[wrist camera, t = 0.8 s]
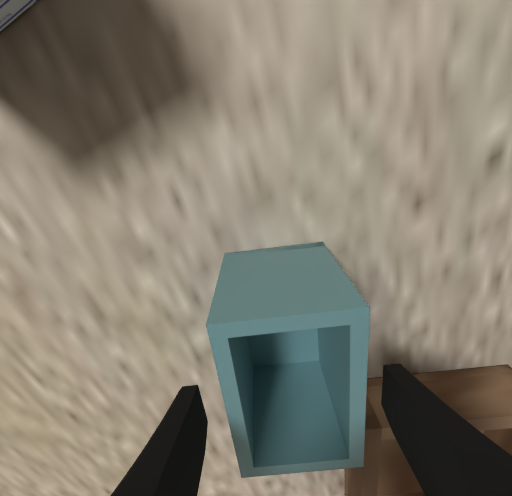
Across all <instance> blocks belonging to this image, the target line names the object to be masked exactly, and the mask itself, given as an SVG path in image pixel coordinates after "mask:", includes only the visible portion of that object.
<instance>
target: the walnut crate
mask: <svg viewBox="0 0 512 496" xmlns="http://www.w3.org/2000/svg"><path fill="white" fill-rule="evenodd" d="M412 375H414V376H415V377H416V378H417V379H418V380H419V381H420V382H421V383H423V384H424V385H425V386H426V387H427V388H428V389H429V390H431V391H432V392H433V393H434V394H435V395H436V396H438V397H439V398H440V399H441V400H442V401H443V402H445V403H446V404H447V405H448V406H449V407H451V408H452V409H453V410H454V411H455V412H457V413H458V414H459V415H460V416H461V417H463V418H464V419H465V420H466V421H468V422H469V423H470V424H471V425H473V426H474V427H475V428H476V429H478V430H479V431H480V432H481V433H483V434H484V435H485V436H487V437H488V438H489V439H490V440H492V441H493V442H494V443H496V444H497V445H498V446H500V447H501V448H502V449H504V450H505V451H506V452H508V453H509V454H510V455H512V368H511V367H510V366H509V365H500V366H490V367H480V368H470V369H460V370H450V371H440V372H431V373H421V374H412ZM382 382H383V377H381V378H371V379H367V390H366V415H365V441H364V466H363V467H356V468H345V496H425V494H424V492H423V490H422V488H421V486H420V484H419V482H418V480H417V479H416V477H415V475H414V473H413V471H412V469H411V467H410V465H409V463H408V461H407V460H406V458H405V456H404V454H403V452H402V450H401V448H400V446H399V444H398V442H397V440H396V438H395V436H394V434H393V432H392V430H391V427H390V425H389V422H388V420H387V418H386V415H385V412H384V410H383V407H382V405H381V396H382Z"/></svg>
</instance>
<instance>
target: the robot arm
mask: <svg viewBox="0 0 512 496" xmlns="http://www.w3.org/2000/svg"><path fill="white" fill-rule="evenodd" d="M381 405H382V407H383V410H384V412H385V415H386V418H387V420H388V422H389V425H390V427H391V430H392V432H393V434H394V436H395V438H396V440H397V442H398V444H399V446H400V448H401V450H402V452H403V454H404V456H405V458H406V460H407V461H408V463H409V465H410V467H411V469H412V471H413V473H414V475H415V477H416V479H417V480H418V482H419V484H420V486H421V488H422V490H423V492H424V494H425V496H512V455H510V454H509V453H508V452H506V451H505V450H504V449H502V448H501V447H500V446H498V445H497V444H496V443H494V442H493V441H492V440H490V439H489V438H488V437H487V436H485V435H484V434H483V433H481V432H480V431H479V430H478V429H476V428H475V427H474V426H473V425H471V424H470V423H469V422H468V421H466V420H465V419H464V418H463V417H461V416H460V415H459V414H458V413H457V412H455V411H454V410H453V409H452V408H451V407H449V406H448V405H447V404H446V403H445V402H443V401H442V400H441V399H440V398H439V397H438V396H436V395H435V394H434V393H433V392H432V391H431V390H429V389H428V388H427V387H426V386H425V385H424V384H423V383H421V382H420V381H419V380H418V379H417V378H416V377H415V376H414V375H412V374H411V373H410V372H409V371H408V370H407V369H406V368H404V367H403V366H402V365H401V364H390V365H384V367H383V382H382V396H381ZM207 424H208V420H207V417H206V413H205V409H204V406H203V402H202V398H201V395H200V391H199V388H198V385H193V386H184V387H182V388H181V389H180V391H179V392H178V394H177V396H176V397H175V399H174V401H173V403H172V404H171V406H170V408H169V409H168V411H167V413H166V414H165V416H164V418H163V419H162V421H161V423H160V424H159V426H158V427H157V429H156V431H155V432H154V434H153V435H152V437H151V438H150V440H149V441H148V443H147V445H146V446H145V448H144V449H143V451H142V452H141V454H140V455H139V456H138V458H137V459H136V461H135V462H134V464H133V465H132V467H131V468H130V469H129V471H128V472H127V474H126V475H125V477H124V478H123V479H122V481H121V482H120V484H119V485H118V486H117V488H116V489H115V490H114V492H113V493H112V494H111V496H197V493H198V488H199V482H200V477H201V472H202V466H203V461H204V455H205V447H206V437H207Z"/></svg>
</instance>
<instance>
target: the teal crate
mask: <svg viewBox="0 0 512 496" xmlns="http://www.w3.org/2000/svg"><path fill="white" fill-rule="evenodd" d="M369 313H370V307H369V305H368V304H367V303H366V301H365V300H364V298H363V297H362V296H361V294H360V293H359V292H358V290H357V289H356V287H355V286H354V285H353V283H352V282H351V280H350V279H349V278H348V276H347V275H346V274H345V272H344V271H343V269H342V268H341V267H340V265H339V264H338V263H337V261H336V260H335V258H334V257H333V256H332V254H331V253H330V251H329V250H328V249H327V247H326V246H325V245H324V243H323V242H317V243H309V244H301V245H292V246H284V247H275V248H267V249H258V250H250V251H242V252H233V253H225V254H224V258H223V262H222V266H221V270H220V274H219V277H218V281H217V285H216V289H215V293H214V297H213V300H212V304H211V308H210V312H209V316H208V320H207V324H206V327H207V331H208V335H209V340H210V344H211V348H212V352H213V357H214V361H215V365H216V370H217V374H218V378H219V383H220V387H221V391H222V396H223V400H224V404H225V408H226V413H227V417H228V421H229V426H230V430H231V434H232V439H233V443H234V447H235V451H236V456H237V460H238V464H239V469H240V473H241V477H242V478H244V477H255V476H266V475H278V474H289V473H300V472H311V471H322V470H334V469H345V468H356V467H363V466H364V441H365V415H366V390H367V364H368V339H369Z"/></svg>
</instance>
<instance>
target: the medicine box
mask: <svg viewBox="0 0 512 496" xmlns="http://www.w3.org/2000/svg"><path fill="white" fill-rule="evenodd" d="M36 1H37V0H0V31H2V30H3V29H4V28H5V27H6V26H8V25H9V24H10V23H11V22H12V21H13V20H15V19H16V18H17V17H18V16H19V15H20V14H22V13H23V12H24V11H25V10H26V9H28V8H29V7H30V6H31V5H32V4H34V3H35V2H36Z"/></svg>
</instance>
